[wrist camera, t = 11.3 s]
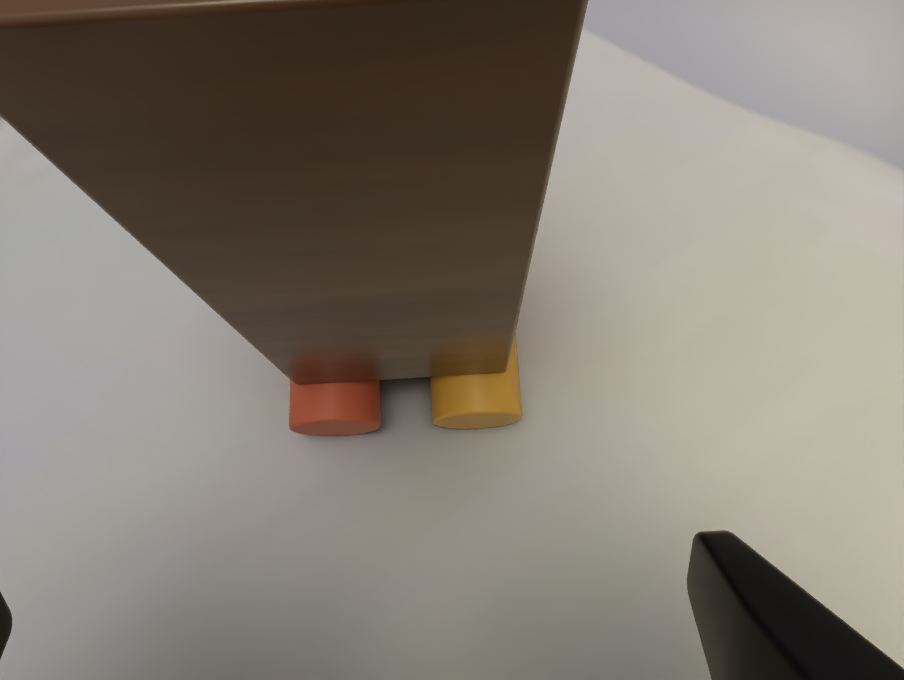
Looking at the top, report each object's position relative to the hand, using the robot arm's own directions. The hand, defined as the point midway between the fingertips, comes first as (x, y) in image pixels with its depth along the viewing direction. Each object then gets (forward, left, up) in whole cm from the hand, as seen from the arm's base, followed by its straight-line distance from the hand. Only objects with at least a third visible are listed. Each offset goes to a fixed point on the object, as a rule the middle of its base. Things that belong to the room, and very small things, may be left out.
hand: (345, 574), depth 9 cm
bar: (+4, -5, -7) cm, 10 cm away
